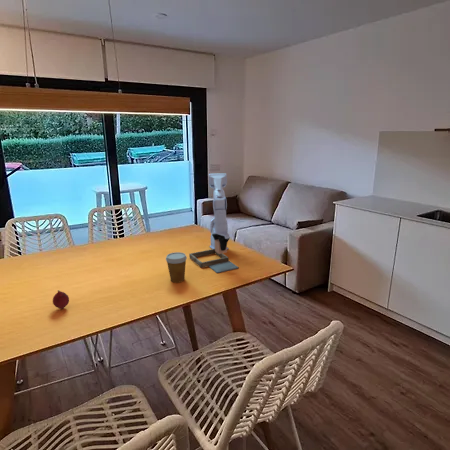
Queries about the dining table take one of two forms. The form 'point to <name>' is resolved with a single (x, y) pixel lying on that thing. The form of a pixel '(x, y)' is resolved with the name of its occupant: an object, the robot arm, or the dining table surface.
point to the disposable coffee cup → (176, 266)
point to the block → (218, 248)
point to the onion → (60, 299)
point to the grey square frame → (207, 263)
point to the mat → (223, 267)
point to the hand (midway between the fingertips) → (221, 248)
